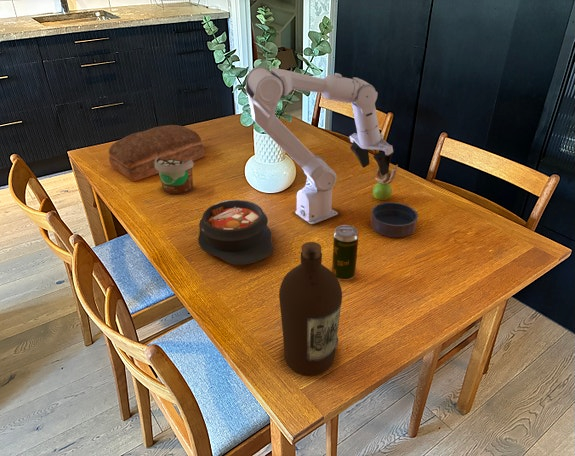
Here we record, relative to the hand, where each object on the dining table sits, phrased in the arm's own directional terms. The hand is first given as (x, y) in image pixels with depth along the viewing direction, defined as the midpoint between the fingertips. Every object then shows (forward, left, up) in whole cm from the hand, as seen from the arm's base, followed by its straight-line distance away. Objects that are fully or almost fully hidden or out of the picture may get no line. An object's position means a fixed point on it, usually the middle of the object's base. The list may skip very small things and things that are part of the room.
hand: (375, 169), depth 127 cm
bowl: (-4, -12, -11) cm, 17 cm away
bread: (-40, +64, -11) cm, 76 cm away
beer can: (-28, -20, -11) cm, 36 cm away
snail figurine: (+4, 0, -11) cm, 12 cm away
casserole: (-42, +6, -11) cm, 44 cm away
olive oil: (-49, -35, -11) cm, 61 cm away
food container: (-44, +41, -11) cm, 61 cm away
